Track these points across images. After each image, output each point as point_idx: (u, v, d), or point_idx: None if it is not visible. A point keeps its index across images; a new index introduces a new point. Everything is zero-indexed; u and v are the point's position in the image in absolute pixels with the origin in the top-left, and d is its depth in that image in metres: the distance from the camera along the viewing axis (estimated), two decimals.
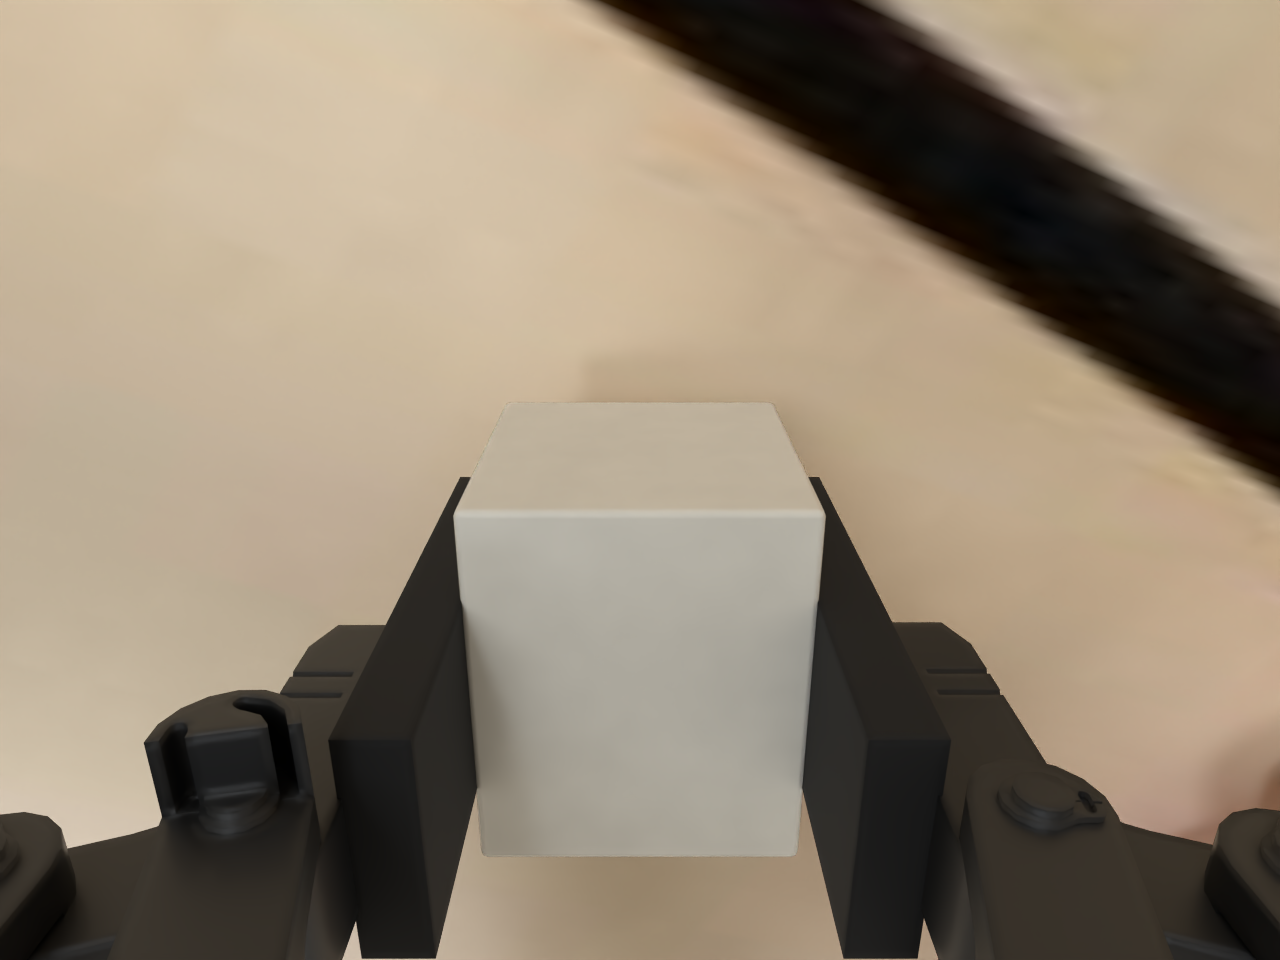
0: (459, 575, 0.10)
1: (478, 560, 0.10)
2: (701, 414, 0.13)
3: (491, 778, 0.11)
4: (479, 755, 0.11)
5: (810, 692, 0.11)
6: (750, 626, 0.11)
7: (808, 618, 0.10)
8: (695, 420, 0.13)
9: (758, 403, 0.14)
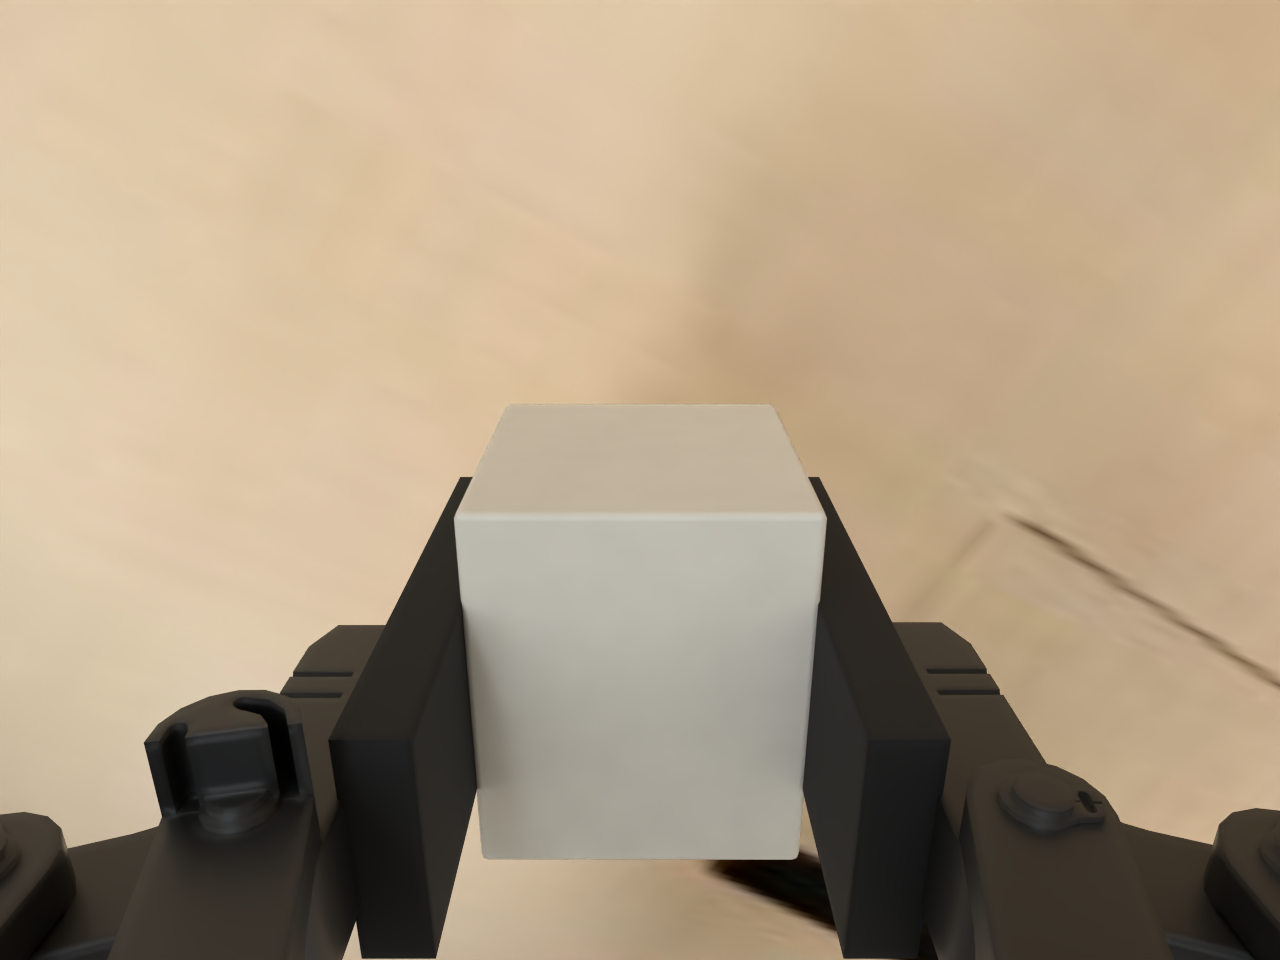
0: (460, 578, 0.10)
1: (479, 563, 0.10)
2: (702, 416, 0.13)
3: (492, 781, 0.11)
4: (480, 758, 0.11)
5: None
6: (750, 628, 0.11)
7: (809, 621, 0.10)
8: (695, 422, 0.13)
9: (759, 405, 0.14)
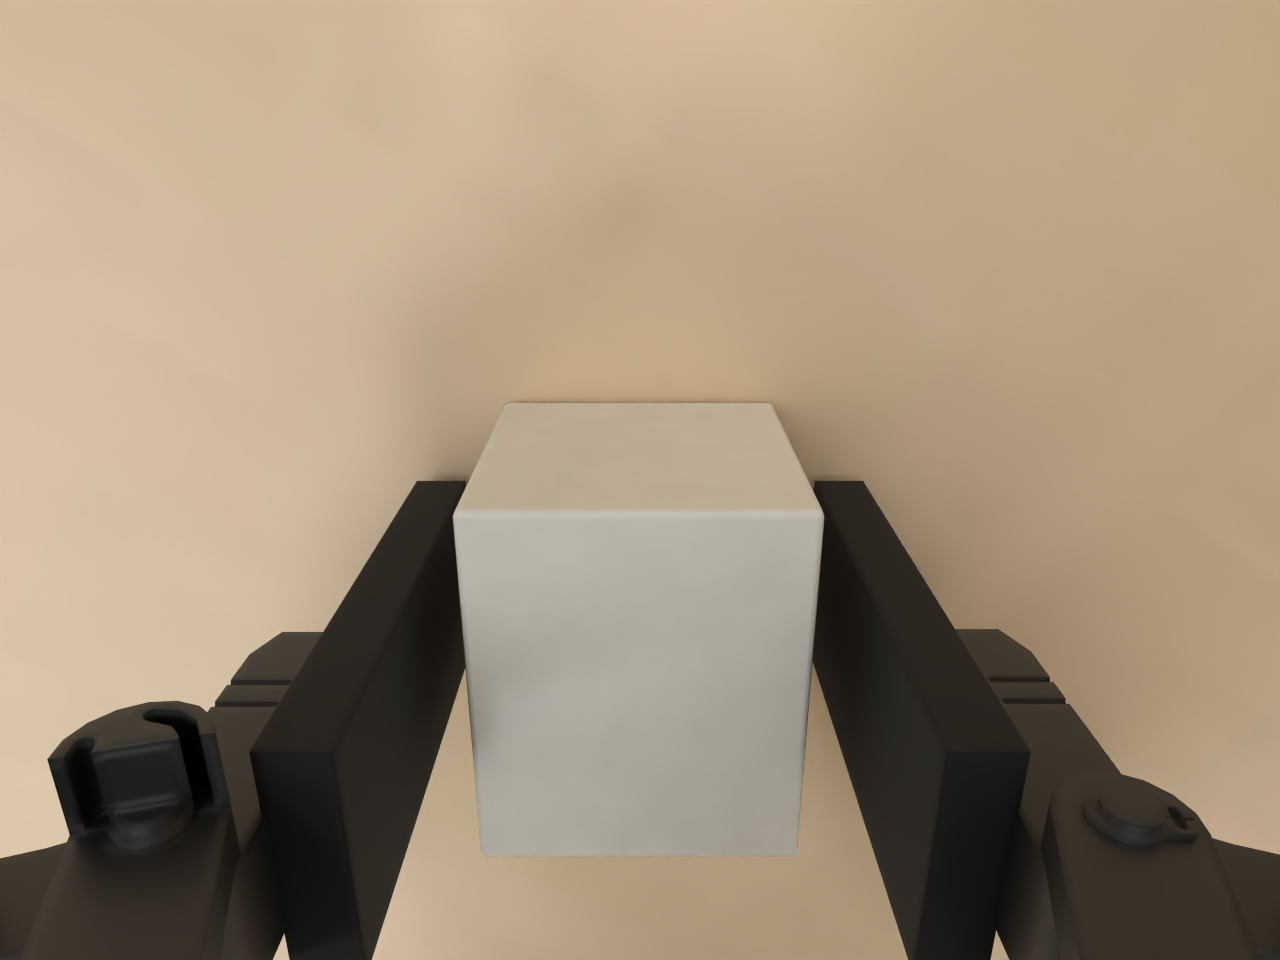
0: (458, 575, 0.10)
1: (477, 560, 0.10)
2: (700, 414, 0.13)
3: (491, 778, 0.11)
4: (479, 755, 0.11)
5: (867, 700, 0.11)
6: (749, 626, 0.11)
7: (807, 618, 0.11)
8: (694, 420, 0.13)
9: (757, 403, 0.14)
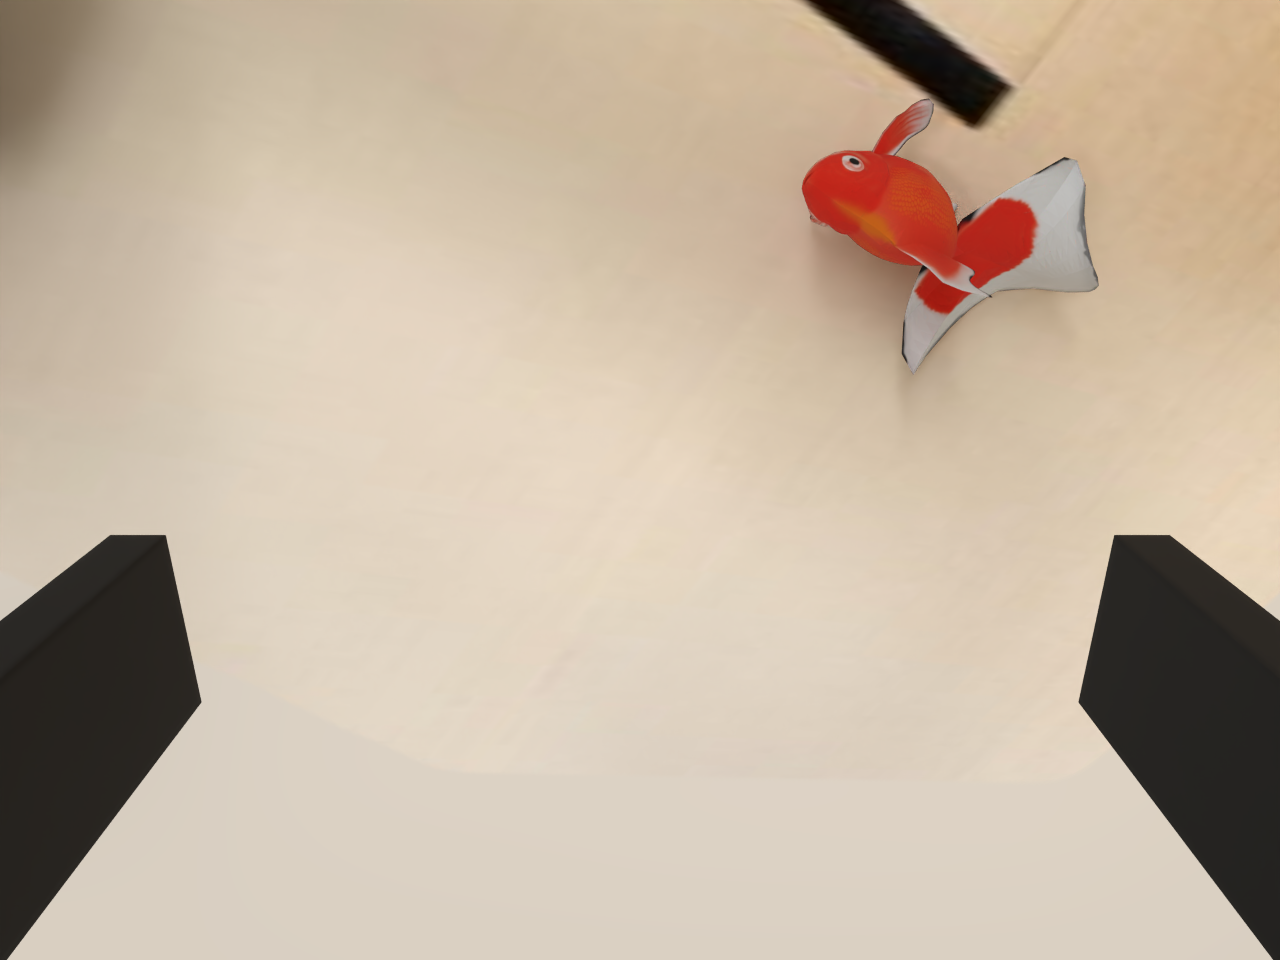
0: None
1: None
2: None
3: None
4: None
5: None
6: None
7: None
8: None
9: None
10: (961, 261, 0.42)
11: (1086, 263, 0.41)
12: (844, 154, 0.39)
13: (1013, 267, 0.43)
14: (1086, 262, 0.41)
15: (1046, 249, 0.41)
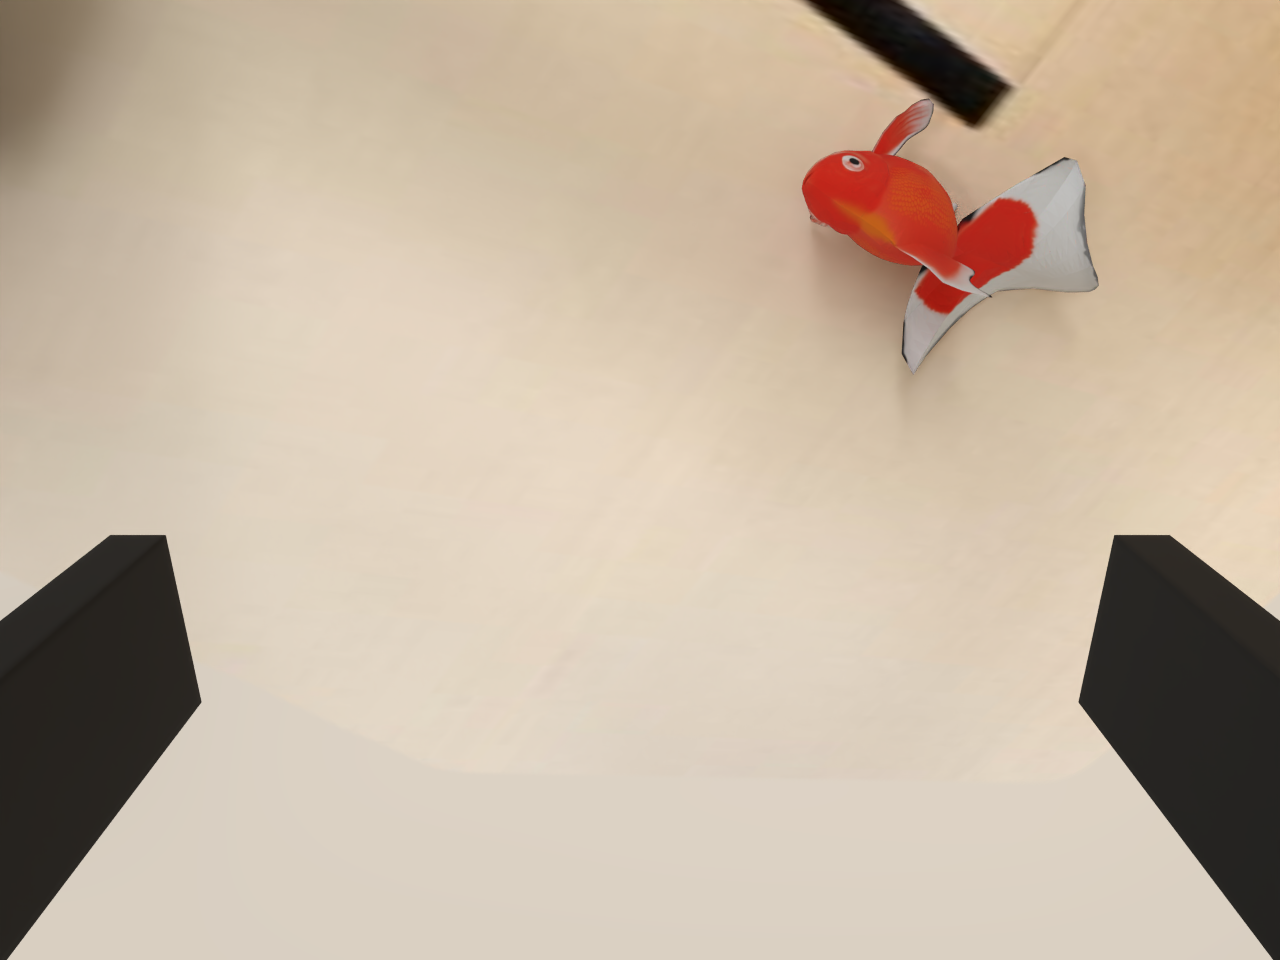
0: None
1: None
2: None
3: None
4: None
5: None
6: None
7: None
8: None
9: None
10: (961, 261, 0.42)
11: (1086, 263, 0.41)
12: (844, 154, 0.39)
13: (1013, 267, 0.43)
14: (1086, 262, 0.41)
15: (1046, 249, 0.41)
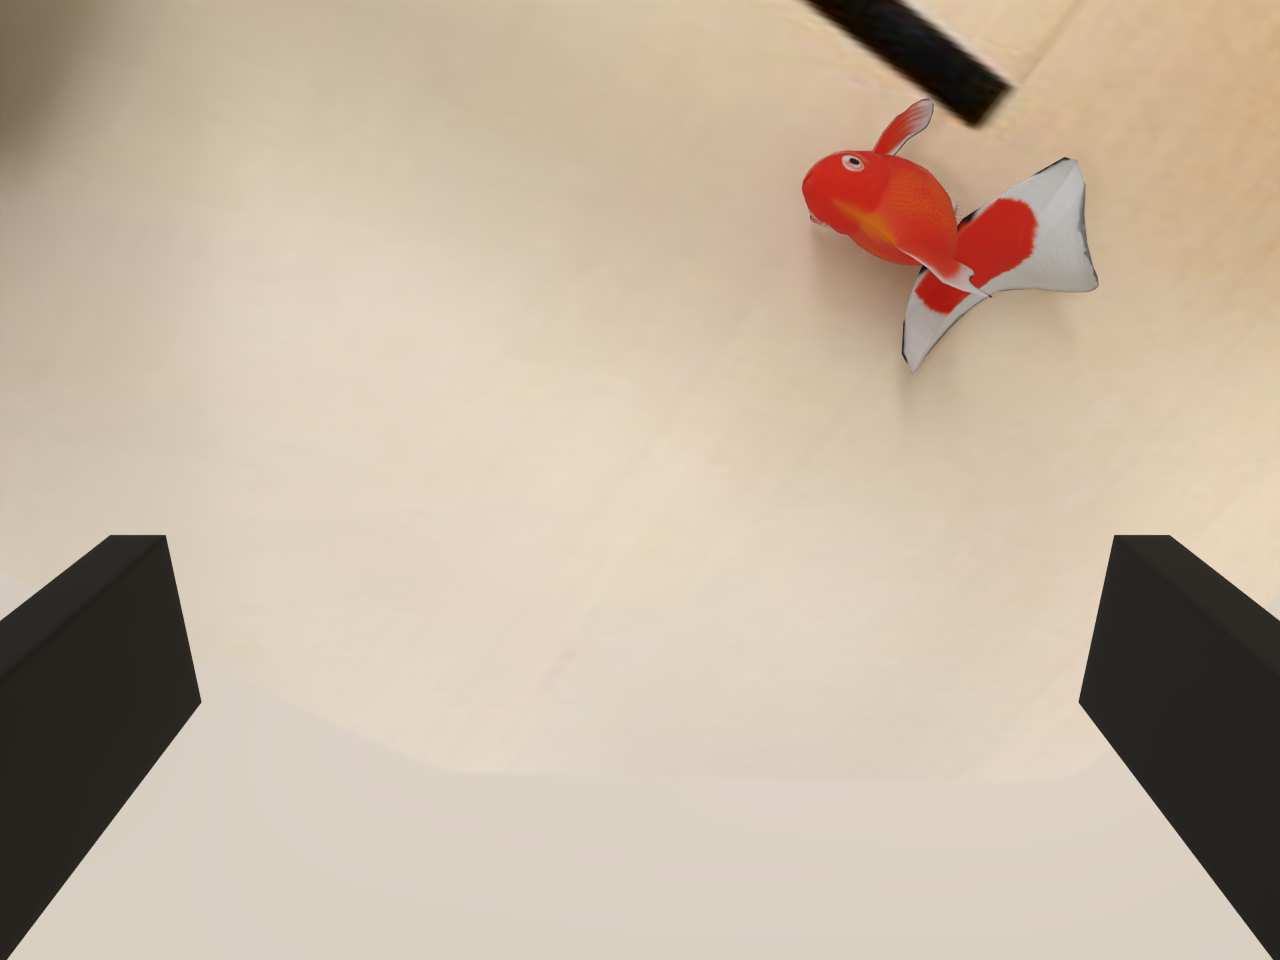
0: None
1: None
2: None
3: None
4: None
5: None
6: None
7: None
8: None
9: None
10: (961, 261, 0.42)
11: (1086, 263, 0.41)
12: (844, 154, 0.39)
13: (1013, 267, 0.43)
14: (1086, 262, 0.41)
15: (1046, 249, 0.41)
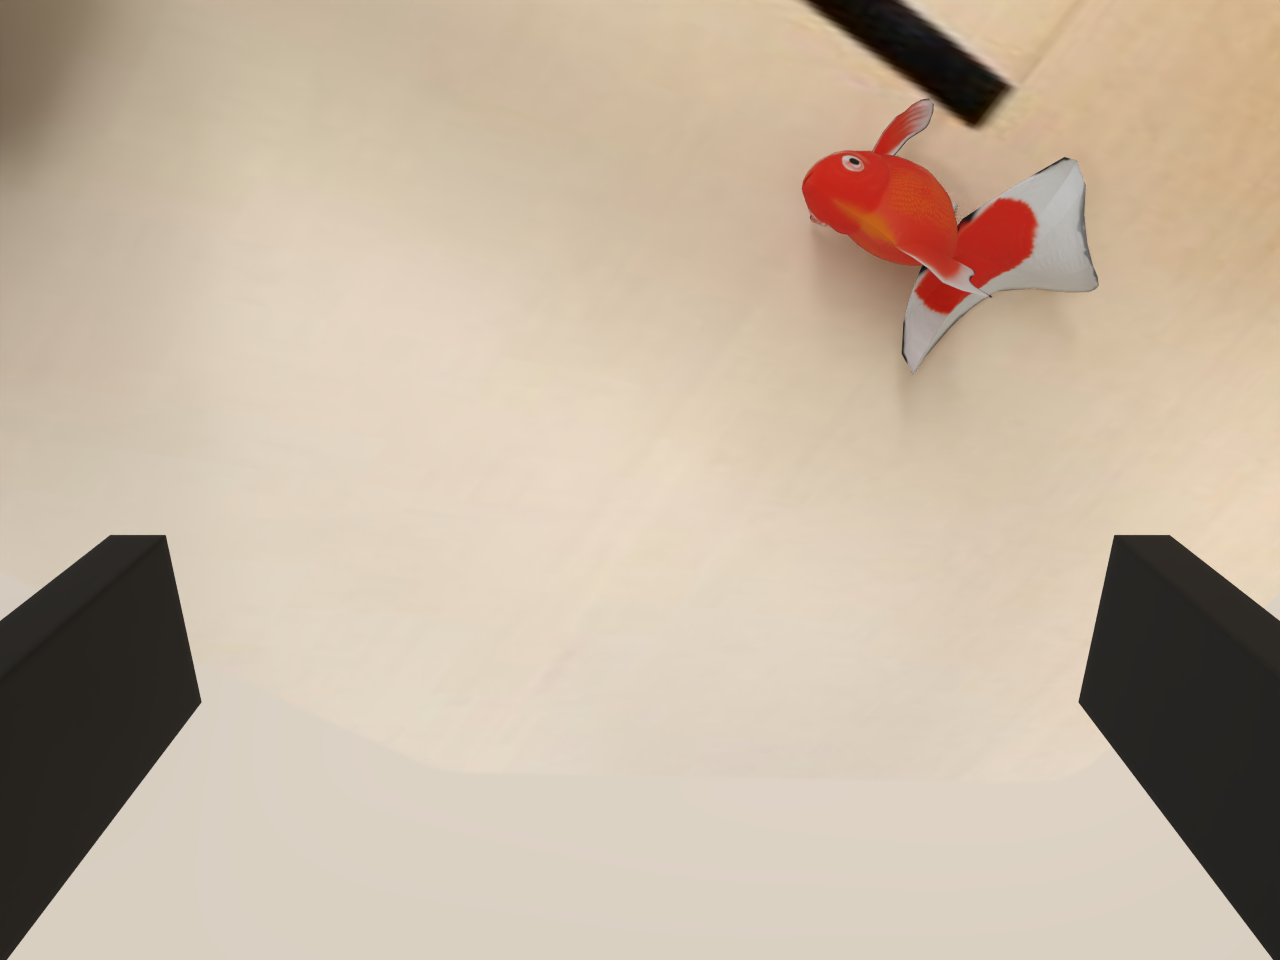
0: None
1: None
2: None
3: None
4: None
5: None
6: None
7: None
8: None
9: None
10: (961, 261, 0.42)
11: (1086, 263, 0.41)
12: (844, 154, 0.39)
13: (1013, 267, 0.43)
14: (1086, 262, 0.41)
15: (1046, 249, 0.41)
